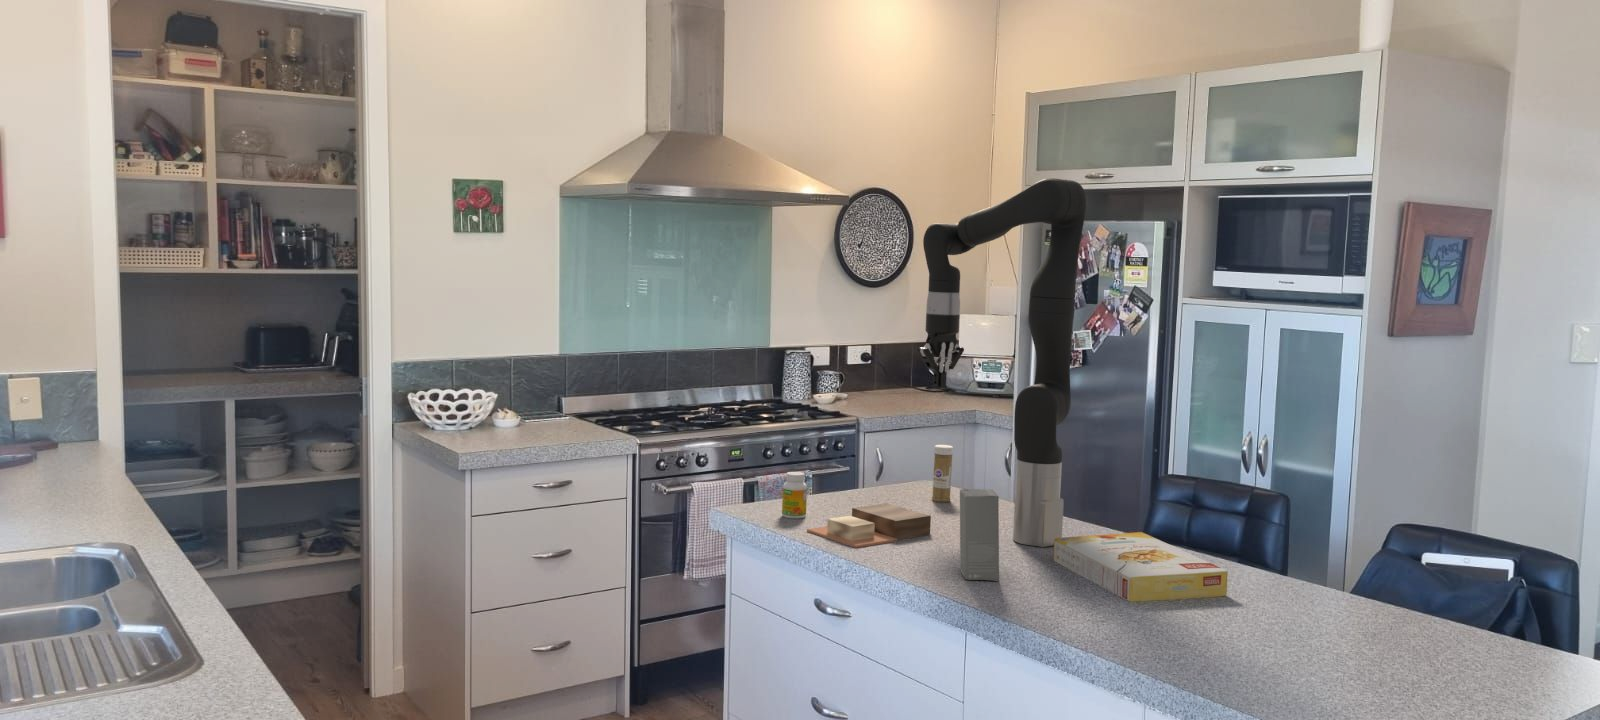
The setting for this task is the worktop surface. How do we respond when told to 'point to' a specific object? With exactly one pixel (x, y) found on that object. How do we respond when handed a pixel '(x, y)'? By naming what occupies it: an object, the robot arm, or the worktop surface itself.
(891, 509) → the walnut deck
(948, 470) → the sprinkles bottle
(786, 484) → the supplement bottle
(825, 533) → the terracotta mat
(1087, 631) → the worktop surface
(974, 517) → the skincare box
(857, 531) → the birch block
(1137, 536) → the cereal box
